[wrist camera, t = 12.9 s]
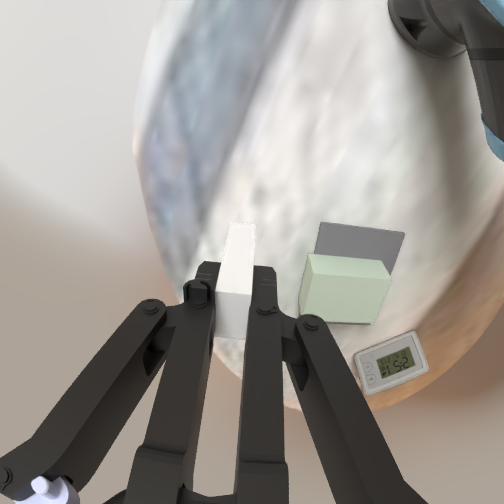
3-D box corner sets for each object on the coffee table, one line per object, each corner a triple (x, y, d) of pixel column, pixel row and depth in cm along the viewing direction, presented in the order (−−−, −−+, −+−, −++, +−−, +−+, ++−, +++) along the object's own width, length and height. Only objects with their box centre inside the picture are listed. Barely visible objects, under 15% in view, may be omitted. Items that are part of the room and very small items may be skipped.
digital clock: (417, 326, 62) (432, 359, 53) (413, 350, 66) (426, 382, 57) (352, 343, 65) (361, 380, 55) (353, 366, 69) (361, 401, 60)
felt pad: (404, 232, 50) (405, 233, 49) (369, 323, 61) (369, 324, 61) (320, 221, 49) (321, 222, 49) (297, 320, 61) (298, 321, 60)
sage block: (308, 253, 52) (381, 260, 52) (298, 298, 57) (365, 302, 58) (313, 273, 47) (392, 279, 47) (301, 320, 52) (373, 323, 52)
